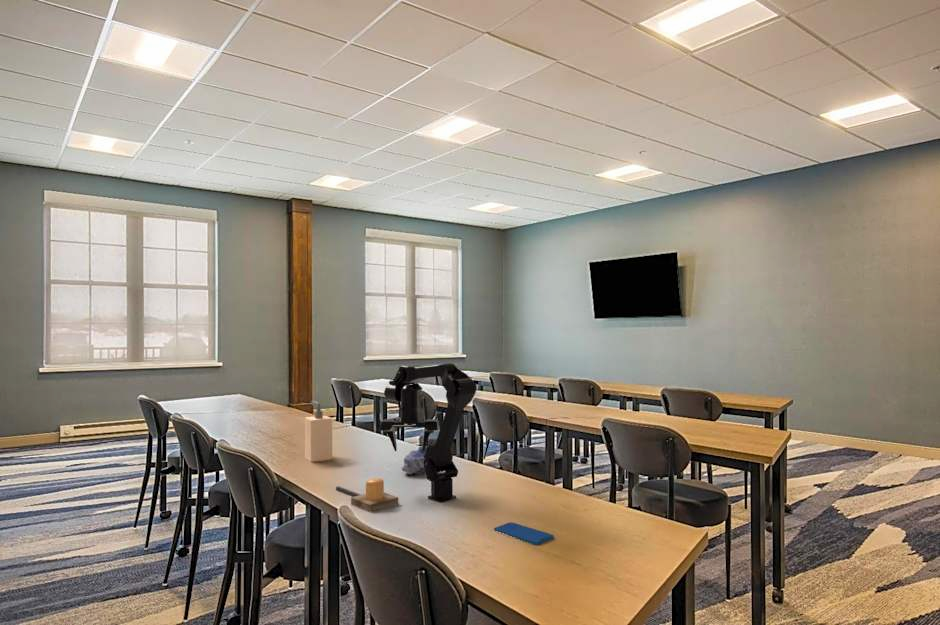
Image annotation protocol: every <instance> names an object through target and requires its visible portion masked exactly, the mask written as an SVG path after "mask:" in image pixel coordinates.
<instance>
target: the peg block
mask: <svg viewBox="0 0 940 625" xmlns="http://www.w3.org/2000/svg"><path fill="white" fill-rule="evenodd" d="M350 504H351V505H353V506H355V507H357V506H358V507H357V508H359V507H361V508H360V509H362V508H363V509H362V510H364V509H366V510H365V511H367V510H368V511H367V512H369V511H372V512H375V511H374V510H376V511H379V510H382V508H383V509H385V508H389V507H390V508H391V507H393V506H396V505H399V496H395V495H393V494H390V493H387V492H384V497H383V498H382V499H379V500H369V499H366V493H363V494H361V495H359V496H355V497H353V496H350ZM378 509H379V510H378Z"/></svg>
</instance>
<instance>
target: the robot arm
mask: <svg viewBox="0 0 940 625" xmlns="http://www.w3.org/2000/svg"><path fill="white" fill-rule="evenodd" d="M436 377H440V379H441V386H442V387H443V388H444V390H445V391H446V393H445V398H446V401H447V407H446V408H445V413H444V415H443V419H442V422H441V425H440V426H439V419H437V418H427V419H426V420H425V421H420V411H419V391H423V387H422V386H420V384H419V382H421V381H424V380H425V379H428V378H436ZM450 377H451V378H452V379H451V378H450ZM476 391H477V386H476V383H475V382H474V380H473V379H472V378H471V377H470V376H469V375H468V374H467V373H465V372H464V371H462V370H461V369H459V368H458V366H456V365H455V364H454V363H452V362H445V363H444V362H443V363H440V364H434V365H428V366H427V365H426V366H423V365H420V364H408V365H400V366H399V367H398V370H397V372H396V374H395V376H394V378H393V380H389V381H388V385H386V387H385V389H384V391H383V395H384V397H385V399H387V400H388V401H392V402H398V403H400V408H399V409H398V419H400V421H395V419H394V418H390V419H389V418H385V419H382V420H381V421H380V423H379V430H380V431H383V433H384V434H387V436H388V438H389V440H390V442H391V444H392V447H393V450H394V452H398V451H397V447H398V446H397V437H396V428H401V429H402V428H424V433H423V441H422V442H423V443H422V446H423V451H424V450H425V447H426V446H427V443H428V440H429V437H430V435H431V434H433V433H434V432H435V431H438V429H439V428H440V429H439V432H438V434H437V439H436V441H435V442H434V443H435V444H434V445H428V447H427V449H426V454H425V456H424V458H425V459H424V468H425V472H424V473H425V476H426V480H428V481H429V482H430V483H431V484H430V488H431V489H430V491H431V492H430V494H431V495H428V496H427V498H428V499H430V500H433V501H437V502H439V503H443V502H446V501H450V500H453V499H457V495H453V493H454V492H453V491H454V490H453V488H454V487H453V478H457V477H458V475H459V470H458V469H457V467H456V465H455V463H454V461H453V459H454V458H453V457H454V455H453V452H452V451H453V450H452V446H453V442H454V440H455V437H456V434H457V430H458V427H459V424H460V421H461V419H462V416H463V412H464V409H466V407H467V406H468V405H470V403H471V402H472V400H473V398H474V396H475V395H476Z"/></svg>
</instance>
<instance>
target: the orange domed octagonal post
mask: <svg viewBox="0 0 940 625" xmlns="http://www.w3.org/2000/svg"><path fill="white" fill-rule="evenodd" d="M365 482H366V483H365V494H366V499H369V500H379V499H382V498H383V497H384V491H385V490H384V489H385V488H384V485H385V483H384V479H382V478H379V477H375V478H369V479H366V480H365Z"/></svg>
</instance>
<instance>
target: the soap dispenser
mask: <svg viewBox="0 0 940 625" xmlns="http://www.w3.org/2000/svg"><path fill="white" fill-rule="evenodd" d="M310 402H311V403H310V405H312V406H313V407H315V408H316V410H315V411H314V416H306V417H304V458H305V459H306V460H308V462H310V463H314V462H323V461H328V460H329V461H330V459H331V460H333V418H332V417H330V416H328V415H323V411H322V410H321V402H320V403H319V402H317V401H315V400H311V401H310Z"/></svg>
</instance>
